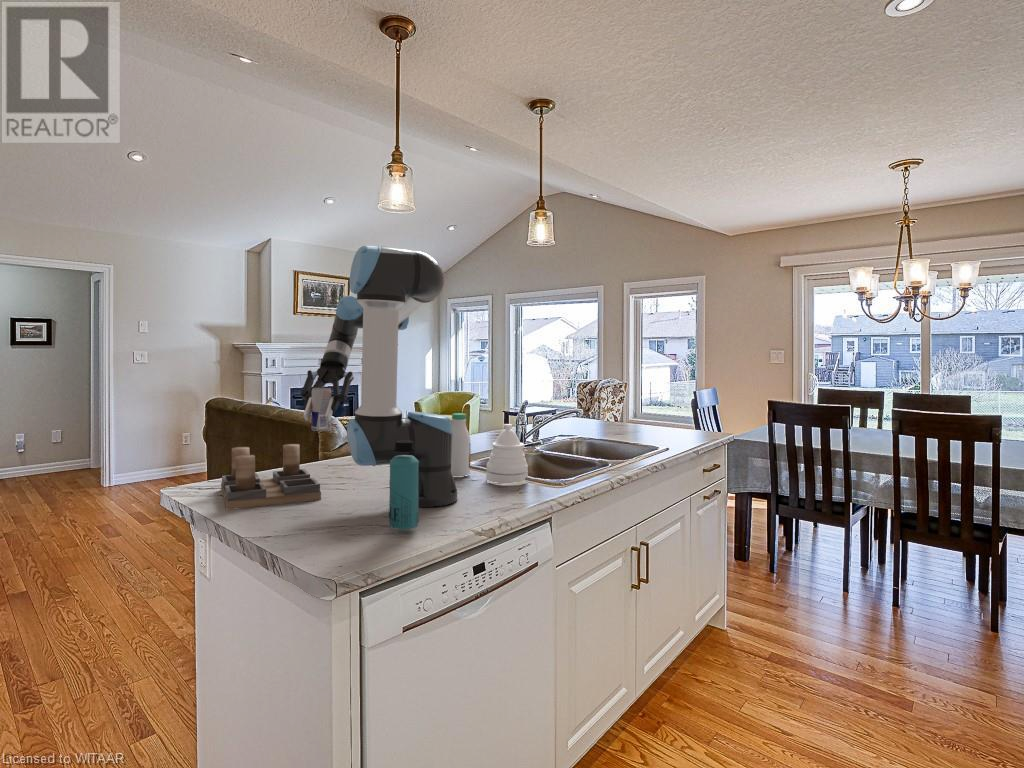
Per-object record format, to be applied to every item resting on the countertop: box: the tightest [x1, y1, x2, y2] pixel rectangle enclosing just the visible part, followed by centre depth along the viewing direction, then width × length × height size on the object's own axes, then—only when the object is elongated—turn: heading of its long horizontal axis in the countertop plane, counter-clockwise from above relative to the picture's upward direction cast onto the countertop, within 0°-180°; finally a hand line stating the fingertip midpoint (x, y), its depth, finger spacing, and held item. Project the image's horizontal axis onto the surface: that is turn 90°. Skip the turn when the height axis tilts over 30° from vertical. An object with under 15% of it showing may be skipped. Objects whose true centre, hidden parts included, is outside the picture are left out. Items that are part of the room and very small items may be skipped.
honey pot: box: [485, 423, 529, 483], centre depth 170 cm, size 13×13×18 cm
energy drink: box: [310, 387, 332, 432], centre depth 158 cm, size 5×5×12 cm
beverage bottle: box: [388, 440, 420, 530], centre depth 119 cm, size 6×7×20 cm
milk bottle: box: [451, 412, 472, 476], centre depth 176 cm, size 8×8×20 cm
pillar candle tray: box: [220, 443, 322, 510], centre depth 148 cm, size 22×22×12 cm
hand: (316, 418), depth 154 cm, fingers closed on energy drink, 5 cm apart
